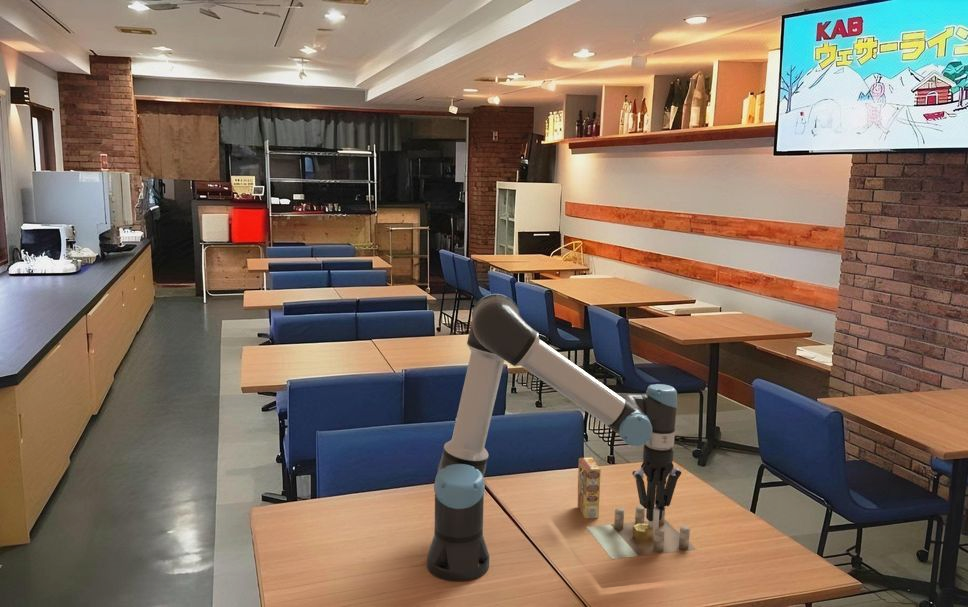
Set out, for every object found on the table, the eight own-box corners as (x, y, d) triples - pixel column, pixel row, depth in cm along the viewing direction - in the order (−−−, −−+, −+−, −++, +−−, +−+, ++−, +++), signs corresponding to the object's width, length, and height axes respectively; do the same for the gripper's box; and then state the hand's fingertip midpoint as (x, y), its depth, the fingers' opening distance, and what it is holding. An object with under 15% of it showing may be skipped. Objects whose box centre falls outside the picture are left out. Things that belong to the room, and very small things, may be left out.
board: (611, 563, 180) (613, 539, 179) (585, 531, 196) (586, 509, 195) (696, 553, 186) (698, 530, 185) (664, 523, 202) (665, 502, 201)
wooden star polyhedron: (639, 543, 188) (639, 533, 187) (630, 533, 193) (631, 523, 192) (654, 541, 189) (655, 531, 189) (645, 532, 194) (646, 522, 193)
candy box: (599, 521, 202) (601, 469, 199) (584, 522, 201) (586, 469, 199) (590, 507, 210) (592, 456, 208) (575, 508, 210) (578, 457, 207)
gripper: (641, 452, 182) (636, 540, 186) (689, 448, 185) (682, 535, 189) (628, 441, 189) (623, 527, 193) (674, 438, 193) (668, 522, 197)
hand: (653, 531), depth 191 cm, fingers closed
